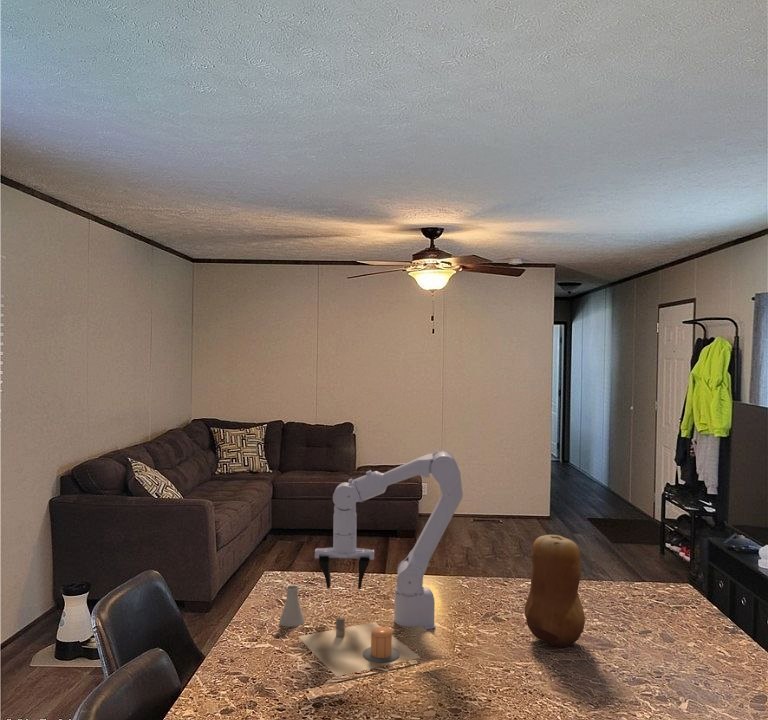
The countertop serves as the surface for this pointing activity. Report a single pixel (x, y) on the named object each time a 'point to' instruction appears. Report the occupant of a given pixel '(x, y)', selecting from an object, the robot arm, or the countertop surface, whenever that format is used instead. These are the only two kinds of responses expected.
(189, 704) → the countertop surface
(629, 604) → the countertop surface
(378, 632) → the orange domed tapered piece
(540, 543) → the butternut squash
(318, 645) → the board
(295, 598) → the flask
